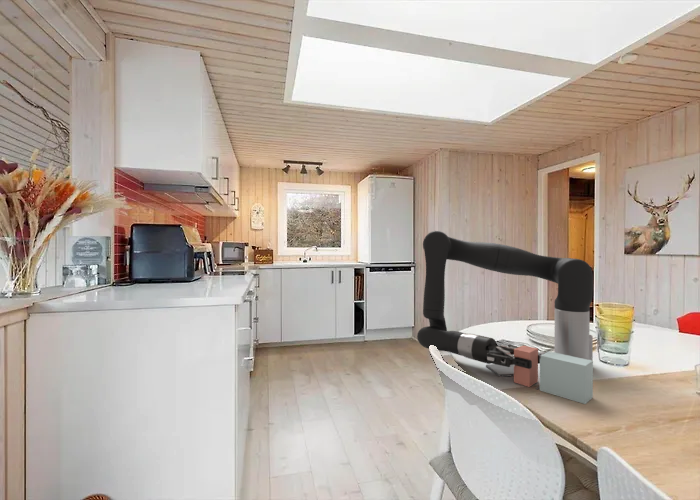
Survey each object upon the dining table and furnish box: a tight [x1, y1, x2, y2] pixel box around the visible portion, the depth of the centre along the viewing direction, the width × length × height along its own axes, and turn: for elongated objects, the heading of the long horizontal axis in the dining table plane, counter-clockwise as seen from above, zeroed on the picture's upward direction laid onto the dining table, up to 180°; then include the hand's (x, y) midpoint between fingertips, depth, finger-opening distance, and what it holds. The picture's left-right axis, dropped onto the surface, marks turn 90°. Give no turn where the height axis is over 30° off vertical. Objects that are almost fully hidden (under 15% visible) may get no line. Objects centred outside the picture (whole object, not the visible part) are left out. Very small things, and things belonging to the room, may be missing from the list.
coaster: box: [485, 363, 514, 377], centre depth 100 cm, size 8×8×1 cm
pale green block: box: [535, 350, 594, 405], centre depth 85 cm, size 11×6×9 cm, turn 40°
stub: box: [513, 345, 539, 388], centre depth 92 cm, size 4×6×9 cm
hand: (535, 362), depth 90 cm, fingers closed on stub, 5 cm apart
